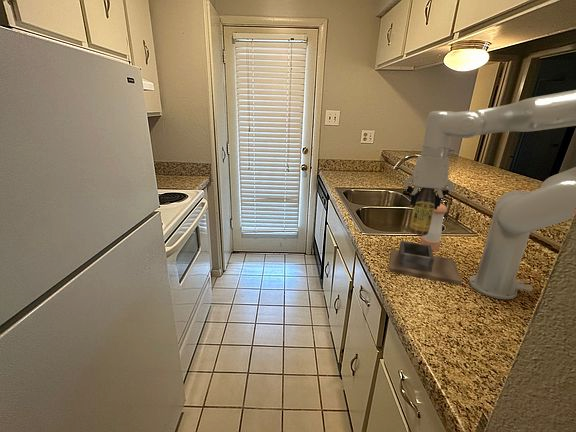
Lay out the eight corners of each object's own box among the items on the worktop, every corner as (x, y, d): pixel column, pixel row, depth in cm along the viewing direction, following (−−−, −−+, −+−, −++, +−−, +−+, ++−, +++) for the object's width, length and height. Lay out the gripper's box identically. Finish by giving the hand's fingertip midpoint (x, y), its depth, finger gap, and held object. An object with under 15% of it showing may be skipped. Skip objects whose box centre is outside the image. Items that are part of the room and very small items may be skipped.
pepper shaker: (429, 251, 116) (438, 205, 110) (416, 243, 123) (424, 200, 116) (443, 249, 118) (453, 204, 112) (429, 241, 125) (438, 199, 118)
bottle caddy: (452, 262, 108) (456, 246, 105) (460, 285, 93) (465, 267, 91) (390, 252, 115) (393, 237, 112) (389, 271, 100) (391, 255, 98)
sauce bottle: (409, 234, 99) (418, 177, 92) (409, 228, 104) (417, 173, 98) (430, 237, 97) (441, 178, 90) (429, 230, 102) (439, 175, 96)
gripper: (463, 153, 92) (451, 207, 98) (405, 149, 97) (397, 200, 103) (468, 156, 85) (454, 213, 91) (405, 152, 91) (396, 206, 97)
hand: (424, 206), depth 97 cm, fingers closed on sauce bottle, 6 cm apart
